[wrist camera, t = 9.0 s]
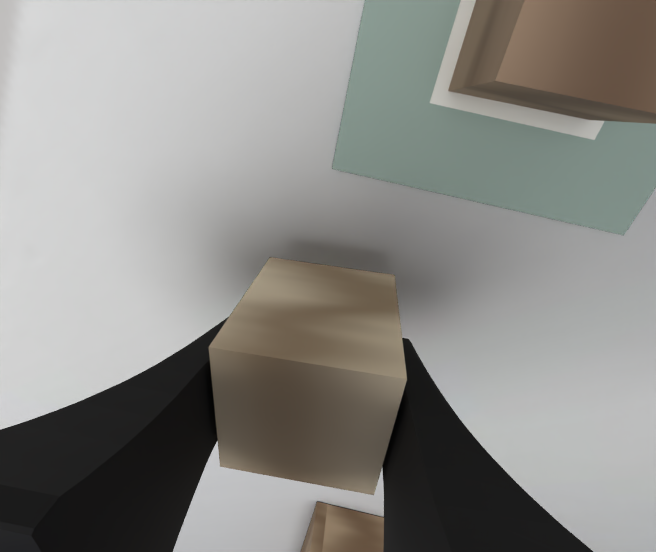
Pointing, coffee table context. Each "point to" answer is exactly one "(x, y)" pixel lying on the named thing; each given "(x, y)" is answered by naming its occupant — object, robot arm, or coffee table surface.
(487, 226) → the coffee table surface
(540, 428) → the coffee table surface
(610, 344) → the coffee table surface
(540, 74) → the walnut block
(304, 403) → the maple block
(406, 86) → the build mat
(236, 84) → the coffee table surface
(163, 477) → the robot arm
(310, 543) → the box
